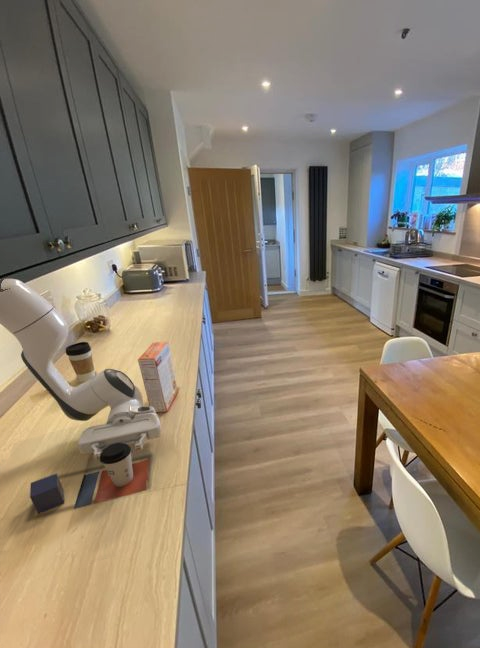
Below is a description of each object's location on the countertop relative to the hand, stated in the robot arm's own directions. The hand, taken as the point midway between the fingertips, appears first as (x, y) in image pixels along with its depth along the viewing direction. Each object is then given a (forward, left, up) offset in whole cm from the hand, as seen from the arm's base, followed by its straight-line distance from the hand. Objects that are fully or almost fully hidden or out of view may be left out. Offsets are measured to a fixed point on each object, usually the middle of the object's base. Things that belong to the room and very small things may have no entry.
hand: (118, 452), depth 83 cm
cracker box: (+10, +33, -8) cm, 35 cm away
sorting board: (-6, -3, -7) cm, 10 cm away
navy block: (-15, -5, -7) cm, 17 cm away
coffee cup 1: (-20, +63, -8) cm, 67 cm away
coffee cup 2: (0, -3, -7) cm, 8 cm away
